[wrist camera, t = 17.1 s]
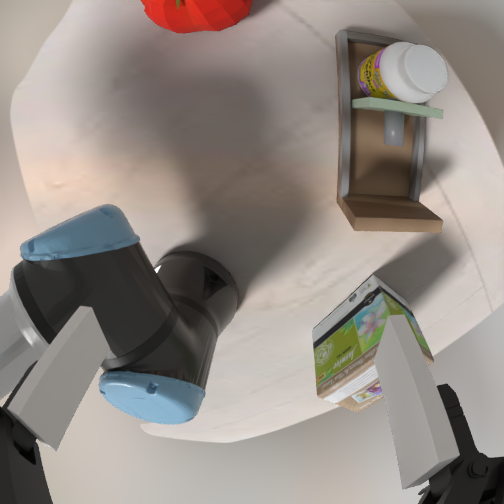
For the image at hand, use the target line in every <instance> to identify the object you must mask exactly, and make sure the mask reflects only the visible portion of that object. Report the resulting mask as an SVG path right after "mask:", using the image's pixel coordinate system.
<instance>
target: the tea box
mask: <svg viewBox="0 0 504 504" xmlns="http://www.w3.org/2000/svg"><path fill="white" fill-rule="evenodd" d="M403 314H404V315H405V317H406V319H407V321H408V323H409V325H410V327H411V329H412V331H413V333H414V336H415V338H416V340H417V342H418V344H419V346H420V349H421V351H422V353H423V355H424V358H425V360H426V362H427V365H428V366H429V365H430V364H432V363H433V362H434V359H433V357H432V354H431V352H430V349H429V347H428V345H427V343H426V340H425V338H424V336H423V334H422V332H421V329H420V327H419V325H418V323H417V321H416V319H415V317H414V315H413V313H412V311H411V309H410V307H409V305H408V303H407V301H406V300H404V299H403V298H402V297H401V296H399V295H398V294H397V293H396V292H394V291H393V290H392V289H391V288H390V287H388V286H387V285H386V284H385V283H384V282H382V281H381V280H380V279H379V278H377V277H376V276H375V275H374V274H373V275H372V276H371V277H370V278H369V279H368V280H367V281H366V282H364V283H363V284H362V285H361V286H360V287H359V288H358V289H357V290H356V291H355V292H354V293H353V294H352V295H351V296H350V297H349V298H348V299H346V300H345V302H343V303H342V304H341V305H340V306H339V307H338V308H336V309H335V310H334V311H333V312H332V313H331V314H330V315H329V316H328V317H327V318H325V319H324V320H323V321H322V322H321V323H320V324H319V325H317V326H316V327H315V328H314V329H313V330H312V334H313V348H314V359H315V372H316V388H317V397H320V398H322V399H325V400H327V401H330V402H332V403H335V404H337V405H340V406H342V407H345V408H347V409H350V410H353V411H355V412H360V411H362V410H364V409H365V408H367V407H369V406H370V405H372V404H374V403H375V402H377V401H378V400H380V399H382V398H383V397H384V396H383V392H382V388H381V385H380V381H379V377H378V374H377V370H376V366H375V363H374V358H375V355H376V352H377V349H378V346H379V343H380V340H381V337H382V334H383V331H384V328H385V325H386V321H387V318H388V316H389V315H403Z"/></svg>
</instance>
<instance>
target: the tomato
mask: <svg viewBox="0 0 504 504" xmlns="http://www.w3.org/2000/svg"><path fill="white" fill-rule="evenodd" d="M141 2H142V3H143V4H144V6H145V10H144V11H145V13H146V14H147V16H148V17H149V18H150V19H151V20H152V21H153V22H154V23H155V24H157V25H159V26H161V27H163V28H165V29H168V30H171V31H173V32H176V33H190V32H197V31H204V30H206V31H221V30H223V29H226V28H228V27H231V26H233V25H236V24H237V23H238V22H240V21H241V20H242V19H243V18H245V17H246V16H247V15H248V14H249V11H250V7H251V3H252V0H141Z"/></svg>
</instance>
